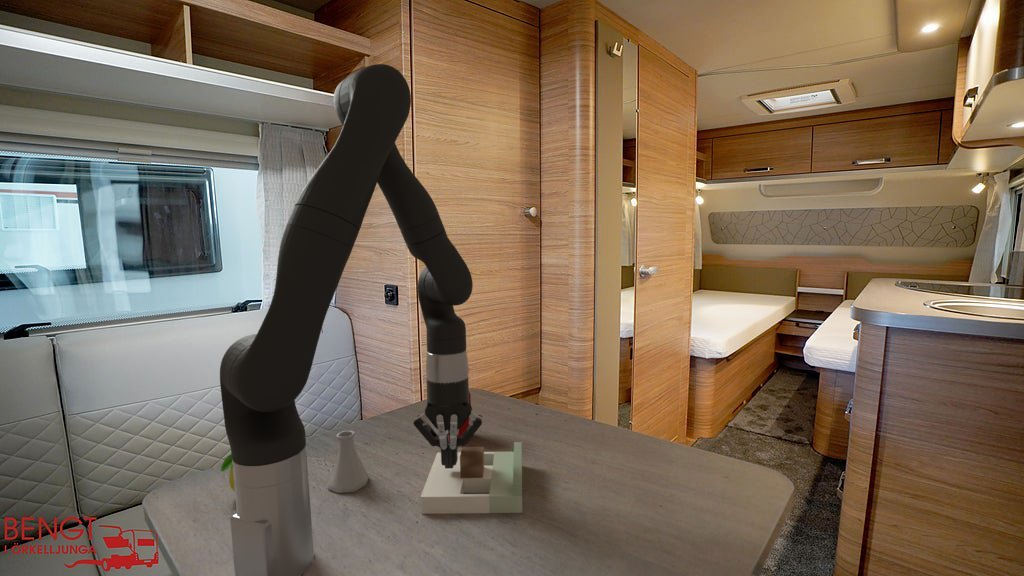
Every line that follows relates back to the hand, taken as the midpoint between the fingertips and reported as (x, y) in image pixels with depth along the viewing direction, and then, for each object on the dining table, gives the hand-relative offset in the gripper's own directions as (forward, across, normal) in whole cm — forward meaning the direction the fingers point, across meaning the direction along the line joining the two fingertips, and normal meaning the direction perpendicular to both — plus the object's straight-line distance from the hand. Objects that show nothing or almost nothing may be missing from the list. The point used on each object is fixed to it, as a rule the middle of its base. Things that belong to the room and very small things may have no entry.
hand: (449, 466), depth 89 cm
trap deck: (+4, +4, 0) cm, 6 cm away
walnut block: (+1, +4, 0) cm, 4 cm away
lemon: (+5, -37, -1) cm, 37 cm away
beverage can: (+4, -1, +22) cm, 22 cm away
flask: (+5, -20, +2) cm, 20 cm away
